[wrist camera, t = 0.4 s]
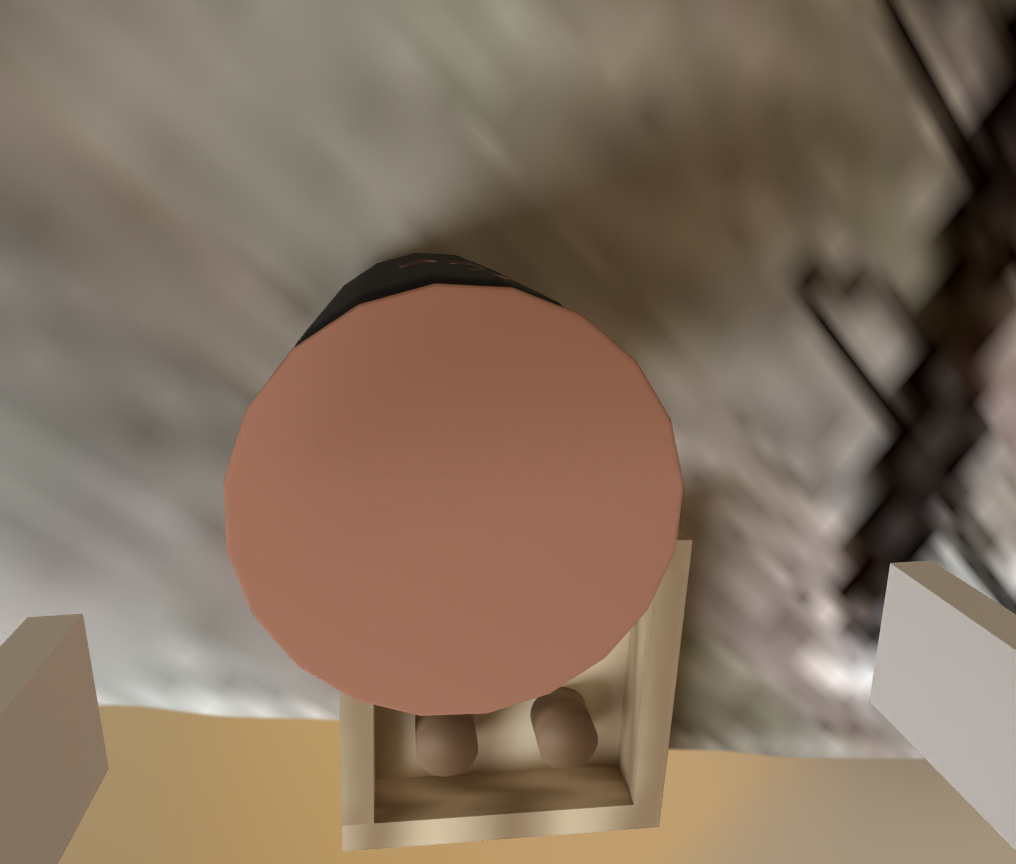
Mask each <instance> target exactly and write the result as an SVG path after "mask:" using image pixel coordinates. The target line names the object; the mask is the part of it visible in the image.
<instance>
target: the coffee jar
mask: <svg viewBox="0 0 1016 864" xmlns="http://www.w3.org/2000/svg"><path fill="white" fill-rule="evenodd" d="M683 489H684V484H683V479H682V474H681V469H680V464H679V459H678V454H677V449H676V444H675V438H674V433H673V428H672V423H671V419H670V418H669V416H668V414H667V412H666V411H665V409H664V407H663V406H662V404H661V402H660V400H659V399H658V397H657V395H656V394H655V392H654V390H653V389H652V387H651V385H650V383H649V382H648V380H647V378H646V377H645V375H644V373H643V371H642V370H641V368H640V366H639V365H638V363H637V361H636V360H635V359H633V358H632V357H631V356H630V355H629V354H628V353H626V352H625V351H624V350H623V349H622V348H620V347H619V346H618V345H617V344H616V343H615V342H613V341H612V340H611V339H610V338H609V337H608V336H606V335H605V334H604V333H603V332H602V331H601V330H599V329H598V328H597V327H596V326H595V325H593V324H592V323H591V322H590V321H589V320H588V319H586V318H585V317H584V316H583V315H581V314H579V313H576V312H574V311H571V310H568V309H566V308H564V307H563V306H562V305H561V304H559V303H558V302H556V301H554V300H552V299H550V298H548V297H546V296H544V295H542V294H540V293H538V292H536V291H534V290H532V289H530V288H528V287H526V286H524V285H522V284H520V283H518V282H515V281H513V280H511V279H509V278H507V277H505V276H503V275H501V274H499V273H497V272H495V271H493V270H491V269H488V268H486V267H483V266H481V265H478V264H476V263H473V262H471V261H468V260H466V259H463V258H460V257H458V256H455V255H440V254H423V253H414V254H410V255H407V256H403V257H399V258H396V259H392V260H388V261H385V262H381V263H377V264H376V265H374V266H373V267H371V268H370V269H368V270H367V271H365V272H364V273H362V274H361V275H359V276H358V277H356V278H355V279H353V280H352V281H350V282H349V283H347V284H346V285H344V286H343V288H342V289H341V290H340V291H339V292H338V294H337V295H336V296H335V297H334V298H333V300H332V301H331V302H330V303H329V304H328V306H327V307H326V308H325V309H324V310H323V312H322V313H321V314H320V315H319V316H318V318H317V319H316V320H315V321H314V322H313V324H312V325H311V326H310V327H309V328H308V329H307V331H306V332H305V333H304V335H303V336H302V337H301V339H300V340H299V341H298V342H297V344H296V345H295V346H294V348H293V349H292V350H291V351H290V353H289V354H288V355H287V357H286V358H285V359H284V360H283V362H282V363H281V364H280V366H279V367H278V368H277V370H276V371H275V372H274V374H273V375H272V376H271V378H270V379H269V380H268V381H267V383H266V384H265V385H264V387H263V388H262V389H261V391H260V392H259V393H258V395H257V396H256V397H255V399H254V400H253V401H252V402H251V404H250V405H249V406H248V408H247V409H246V412H245V415H244V418H243V421H242V424H241V427H240V430H239V434H238V437H237V440H236V443H235V446H234V449H233V452H232V455H231V458H230V462H229V465H228V468H227V471H226V474H225V477H224V497H225V522H226V548H227V552H228V555H229V557H230V560H231V562H232V565H233V567H234V570H235V572H236V574H237V577H238V579H239V582H240V584H241V587H242V589H243V592H244V594H245V597H246V599H247V601H248V604H249V606H250V609H251V611H252V614H253V616H254V617H255V618H256V619H257V620H258V621H259V623H260V624H261V625H262V626H263V627H264V628H265V629H266V630H267V632H268V633H269V634H270V635H271V636H272V637H273V638H274V640H275V641H276V642H277V643H278V644H279V645H280V646H281V647H282V649H283V650H284V651H285V652H286V653H287V654H288V655H289V657H290V658H291V659H292V660H293V661H294V662H295V663H296V664H297V666H299V667H301V668H302V669H304V670H306V671H307V672H309V673H311V674H312V675H314V676H316V677H317V678H319V679H321V680H322V681H324V682H326V683H328V684H329V685H331V686H333V687H334V688H336V689H338V690H339V691H341V692H343V693H344V694H346V695H348V696H350V697H351V698H353V699H355V700H358V701H362V702H366V703H370V704H374V705H378V706H382V707H386V708H390V709H394V710H398V711H403V712H407V713H411V714H415V715H419V716H429V715H457V714H484V713H490V712H493V711H496V710H499V709H502V708H506V707H509V706H512V705H515V704H518V703H521V702H525V701H528V700H531V699H534V698H537V697H540V696H544V695H547V694H550V693H552V692H553V691H555V690H556V689H558V688H559V687H561V686H562V685H564V684H566V683H567V682H569V681H570V680H572V679H573V678H575V677H576V676H578V675H579V674H581V673H583V672H584V671H586V670H587V669H589V668H590V667H592V666H593V665H595V664H597V663H598V662H600V661H601V660H603V659H604V658H606V656H607V655H608V654H609V653H610V652H611V651H612V650H613V649H614V647H615V646H616V645H617V644H618V643H619V642H620V641H621V639H622V638H623V637H624V636H625V635H626V634H627V633H628V632H629V630H630V629H631V628H632V627H633V626H634V625H635V624H636V623H637V621H638V620H639V619H640V618H641V617H642V616H643V615H644V613H645V612H646V611H647V610H648V609H649V607H650V604H651V602H652V600H653V598H654V596H655V594H656V591H657V589H658V587H659V585H660V583H661V581H662V579H663V576H664V574H665V572H666V570H667V568H668V566H669V563H670V561H671V559H672V557H673V555H674V553H675V551H676V543H677V535H678V527H679V520H680V512H681V504H682V496H683Z"/></svg>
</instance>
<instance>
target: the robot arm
mask: <svg viewBox="0 0 1016 864" xmlns="http://www.w3.org/2000/svg"><path fill="white" fill-rule="evenodd" d="M870 702H871V703H872V704H873V705H874V706H875V707H876V708H877V709H878V710H879V712H880V713H881V714H882V715H883V716H884V717H885V718H886V719H887V720H888V721H889V722H890V723H891V724H892V725H893V726H894V727H895V728H896V729H897V730H898V731H899V732H900V733H901V734H902V735H903V736H904V737H905V738H906V739H907V740H908V741H909V742H910V743H911V744H912V745H913V746H914V747H915V748H916V749H917V750H918V751H919V752H920V753H921V754H922V755H923V756H924V757H925V758H926V759H927V761H928V762H930V763H931V764H932V766H933V767H934V768H935V769H936V770H937V771H938V772H939V773H940V774H941V775H942V776H943V777H944V778H945V779H946V780H947V781H948V782H949V783H950V784H951V785H952V786H953V787H954V788H955V789H956V790H957V791H958V792H959V793H960V794H961V795H962V796H963V797H964V798H965V799H966V800H967V801H968V802H969V803H970V804H971V805H972V806H973V807H974V808H975V809H976V811H978V813H980V815H981V816H982V817H983V818H985V820H987V822H988V823H990V825H991V826H992V827H993V828H994V829H995V830H996V831H997V832H998V833H999V834H1000V835H1001V836H1002V837H1003V838H1004V839H1005V840H1006V841H1007V842H1008V843H1009V844H1010V845H1011V846H1012V847H1013V848H1014V849H1015V850H1016V615H1015V614H1014V613H1012V612H1011V611H1009V610H1008V609H1006V608H1004V607H1003V606H1001V605H1000V604H998V603H997V602H995V601H993V600H992V599H990V598H989V597H987V596H986V595H984V594H982V593H981V592H979V591H978V590H976V589H975V588H973V587H971V586H970V585H968V584H967V583H965V582H964V581H962V580H960V579H959V578H957V577H956V576H954V575H953V574H951V573H949V572H948V571H946V570H945V569H943V568H942V567H940V566H938V565H937V564H935V563H934V562H932V561H918V562H902V563H890V569H889V576H888V582H887V589H886V596H885V602H884V609H883V615H882V622H881V629H880V635H879V642H878V648H877V655H876V662H875V668H874V675H873V682H872V688H871V695H870ZM108 769H109V768H108V762H107V756H106V750H105V744H104V739H103V732H102V726H101V720H100V714H99V708H98V702H97V696H96V690H95V684H94V678H93V672H92V666H91V660H90V655H89V649H88V643H87V637H86V631H85V625H84V619H83V614H74V615H58V616H42V617H28V618H27V619H26V620H25V621H24V622H23V623H22V624H21V625H20V626H19V627H18V628H17V629H16V630H15V631H14V633H13V634H12V635H11V636H10V637H9V638H8V639H7V640H6V641H5V642H4V643H3V644H2V645H1V646H0V864H58V862H59V860H60V859H61V857H62V855H63V853H64V851H65V849H66V847H67V846H68V843H69V842H70V840H71V838H72V836H73V834H74V832H75V831H76V829H77V827H78V825H79V823H80V821H81V819H82V818H83V816H84V814H85V812H86V810H87V808H88V806H89V805H90V803H91V800H92V799H93V797H94V795H95V793H96V791H97V790H98V788H99V786H100V784H101V782H102V780H103V778H104V777H105V775H106V773H107V771H108Z"/></svg>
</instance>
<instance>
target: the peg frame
mask: <svg viewBox="0 0 1016 864" xmlns="http://www.w3.org/2000/svg"><path fill="white" fill-rule="evenodd" d="M692 541H693V540H692V539H691V538H690V537H689V536H688V535H687V533H686V532H685V531H684V530H683V529H682V528H681V527H680V526H679V527H678V535H677V543H676V551H675V553H674V555H673V557H672V559H671V561H670V563H669V566H668V568H667V570H666V572H665V574H664V576H663V579H662V581H661V583H660V585H659V587H658V589H657V591H656V594H655V596H654V598H653V600H652V602H651V604H650V607H649V609H648V610H647V611H646V612H645V613H644V615H643V616H642V617H641V618H640V619H639V620H638V621H637V623H636V624H635V625H634V626H633V627H632V628H631V629H630V630H629V632H628V633H627V634H626V635H625V636H624V637H623V638H622V639H621V641H620V642H619V643H618V644H617V645H616V646H615V647H614V649H613V650H612V651H611V652H610V653H609V654H608V655H607V656H606V658H604V659H603V660H601V661H600V662H598V663H597V664H595V665H593V666H592V667H590V668H589V669H587V670H586V671H584V672H583V673H581V674H579V675H578V676H576V677H575V678H573V679H572V680H570V681H569V682H567V683H566V684H564V685H562V686H561V687H559V688H558V689H556V690H555V691H553V692H552V693H550V694H547V695H544V696H540V697H537V698H534V699H531V700H528V701H525V702H521V703H518V704H515V705H512V706H509V707H506V708H502V709H499V710H496V711H493V712H490V713H484V714H457V715H429V716H419V715H415V714H411V713H407V712H403V711H398V710H394V709H390V708H386V707H382V706H378V705H374V704H370V703H366V702H362V701H358V700H355V699H353V698H351V697H350V696H348V695H346V694H344V693H343V692H341V691H340V732H341V733H340V735H341V792H342V843H343V845H342V848H343V851H355V850H368V849H380V848H393V847H406V846H419V845H431V844H445V843H458V842H471V841H483V840H497V839H508V838H509V839H510V838H523V837H535V836H549V835H562V834H575V833H588V832H601V831H612V830H613V831H614V830H626V829H639V828H653V827H659V824H660V815H661V807H662V798H663V788H664V780H665V772H666V764H667V755H668V747H669V738H670V730H671V721H672V712H673V704H674V695H675V687H676V678H677V670H678V661H679V652H680V644H681V635H682V627H683V618H684V610H685V601H686V592H687V584H688V575H689V567H690V558H691V550H692Z"/></svg>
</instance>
